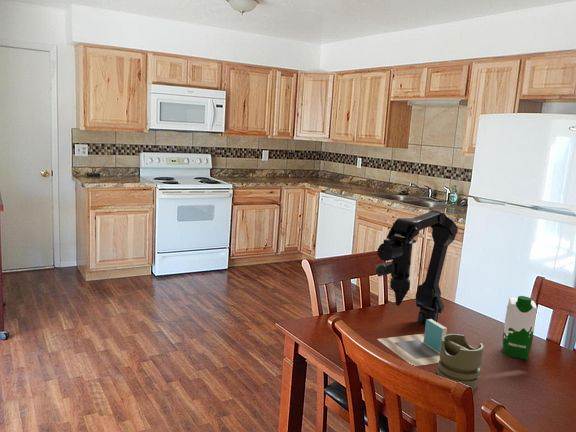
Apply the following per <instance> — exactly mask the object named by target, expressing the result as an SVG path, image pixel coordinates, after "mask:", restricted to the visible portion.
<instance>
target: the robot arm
mask: <svg viewBox="0 0 576 432" xmlns="http://www.w3.org/2000/svg"><path fill="white" fill-rule="evenodd" d="M427 228H431V230H432V231H431V237H432V240H433V247H432V251H431V255H430V259H429V262H428V263H429V264H428V268H427V271H426V275H425V279H424V282H422V283H421V284H419V285H417V289H416V290H417V291H416V293H415V305H416V307H417V308H419V312H418V316H417V320H415V323H419V324H420V325H426V319H432V320H434V321H435V322H437V323H438V319H439V314H442V313H443V311H444V308H445V305H444V303H443V301H442V300H441V297H442V291H441V288H440V285H439V283H440V279H441V276H442V271H443V267H444V264H445V260H446V255H447V251H448V247H449V246H450V245H451V244H452V243H453V242H454V241H455V239H456V236H457V234H458V230H459V228H458V226H457V224H456V222H455V221H453V219H451V218H450V217H448V216H447V215H446V213H445V212H443V211H439V210H435V209H432V210H429V212H426V213H423V214H420V215H418V216H417V215H416V216H414V217H411V218H407V217H401V218H400V217H399V218H397V219H395V221H394V222H393V224H392V226H391V227H390V230H389V232H388V234H387V236H386V239H383V243H381V244H380V245H378V248H377V256H378V258H379V259H380V260H382V261H383V262H381V263H377V264H375V267H374V268H375V273H376V274H377V277H382V276H385V275H390V277H391V278H390V284H389V287H390V289H391V290H392V291H393V292H394V298H395V300H394V301H395V306H398V307H400V306H401V303H402V302H403V300H404V298H405V297H406V295H407V294H408V292H409V290H410V288H411V280H410V275H411V274H410V273H411V265H412V264H411V263H412V255H413V254H412V253H413V252H412V251H413V244H416V243H417V240H416V239H415V238H416V237H417V236H418V235H419V234H420V231H422V230H425V229H427Z"/></svg>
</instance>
